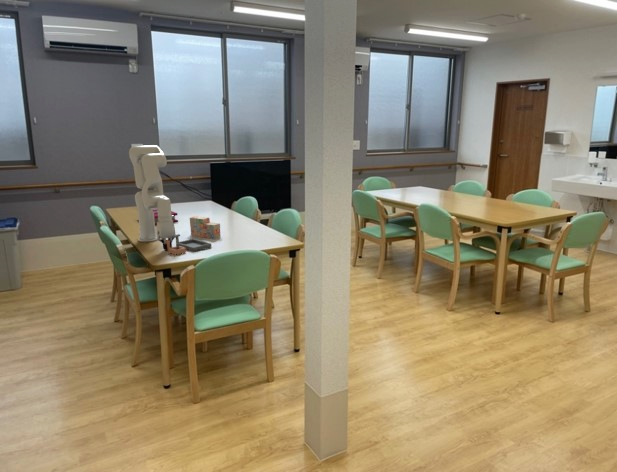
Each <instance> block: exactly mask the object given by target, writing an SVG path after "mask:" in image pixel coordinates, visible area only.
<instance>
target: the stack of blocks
mask: <svg viewBox="0 0 617 472" xmlns="http://www.w3.org/2000/svg"><path fill="white" fill-rule="evenodd" d="M189 228H190V236H193V235H194V236H193V237H199V238H200V237H201V238H206V239H207V238H208V239H214V240H215V239H219V238H221V224H220V222H219V223H218V222H213V221H211V220H210V217H207V216H199V215H196V216H191V217H189Z"/></svg>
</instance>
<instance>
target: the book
mask: <svg viewBox="0 0 617 472" xmlns="http://www.w3.org/2000/svg"><path fill="white" fill-rule="evenodd" d="M152 210H153V212H154V220H155V226H157V222H159V220H158V209H152ZM171 215H172V216H173V218H172V220H173V222H174V223H179V220H178V219H176V216H178V212H175V211H173V210H171Z"/></svg>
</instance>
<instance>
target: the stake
mask: <svg viewBox="0 0 617 472" xmlns="http://www.w3.org/2000/svg"><path fill="white" fill-rule="evenodd" d="M174 237H175V247H176V248H177V249H179V242H180V239H179V238H180V237H181V234H176V235H174Z"/></svg>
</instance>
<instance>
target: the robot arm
mask: <svg viewBox="0 0 617 472" xmlns="http://www.w3.org/2000/svg"><path fill="white" fill-rule="evenodd" d="M128 156H129V159H130V162H131V163H132V167H133V172H134V179H135V186H136V188H138V189H141V190H140V191H137V192H136V193H135V195H134V200H135V201H134V202H135V205H136V208H137V215H138V216H137V218H138V226H139V233H138V235H140V236H139V237H138V238H137V240H138V242H141V243H142V242H144V243H147V242H154V241H157V242H161V244H162V249H163V251H166V250H167V244H166V240H170V248H172V247H173V240H175V239H176V237H174V235H177V234H176V227H175V224H174V223H175V222H174V223H173V220H172V218H173V216H172V215H171V211H172V206H171V204H172V203H171V199H170V198H169V197H167V196H166V195H165V194H164V189H163V188H164V187H163V179H162V177H161V176H162V175H161V174H160V171H159V168H164V167H166V166H167V161H168V160H167V158H166V155H165V153H164V152H163V151H162V150H161V148H160V147H159V146H158V145H155V144H151V145H135V146H132V147H130V149H129V150H128ZM149 189H150V190H149ZM155 209H158V220H159V222H157V225H155V220H154V212H153V210H155Z"/></svg>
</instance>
